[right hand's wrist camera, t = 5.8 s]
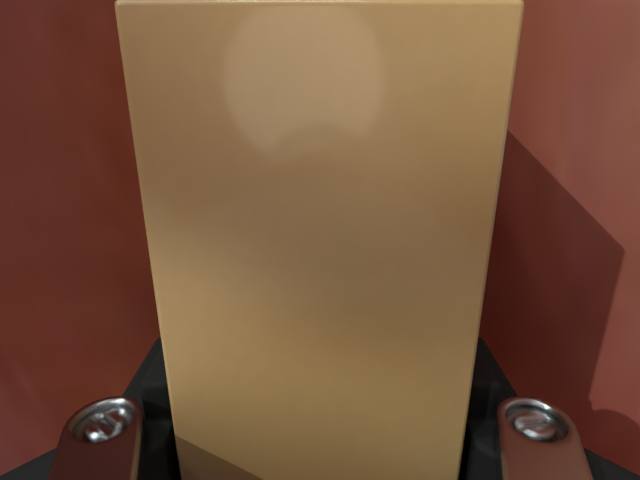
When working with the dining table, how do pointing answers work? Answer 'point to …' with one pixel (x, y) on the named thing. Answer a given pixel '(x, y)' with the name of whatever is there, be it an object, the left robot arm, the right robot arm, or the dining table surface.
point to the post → (319, 224)
